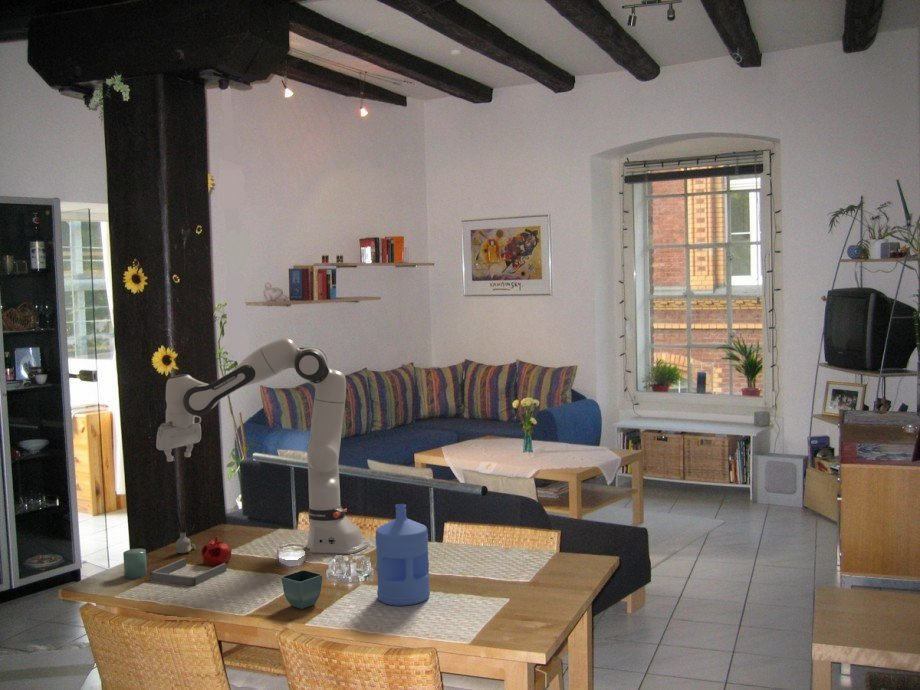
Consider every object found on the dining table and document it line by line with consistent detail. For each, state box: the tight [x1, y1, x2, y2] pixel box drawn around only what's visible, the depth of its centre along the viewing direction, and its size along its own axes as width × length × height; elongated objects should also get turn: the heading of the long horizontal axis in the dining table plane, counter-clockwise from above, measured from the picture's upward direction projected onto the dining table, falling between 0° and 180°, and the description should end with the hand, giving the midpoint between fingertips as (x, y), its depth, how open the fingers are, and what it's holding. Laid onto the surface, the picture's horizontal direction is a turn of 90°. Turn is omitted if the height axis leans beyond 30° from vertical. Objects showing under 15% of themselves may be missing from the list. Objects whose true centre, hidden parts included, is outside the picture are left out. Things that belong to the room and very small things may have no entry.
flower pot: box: [281, 569, 323, 610], centre depth 267 cm, size 9×9×9 cm
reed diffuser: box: [171, 496, 197, 554], centre depth 324 cm, size 10×7×20 cm
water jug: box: [375, 503, 431, 607], centre depth 271 cm, size 16×16×28 cm
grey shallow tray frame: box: [149, 557, 228, 587], centre depth 299 cm, size 18×16×2 cm
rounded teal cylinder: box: [122, 548, 148, 580], centre depth 300 cm, size 7×7×8 cm
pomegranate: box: [201, 535, 232, 567], centre depth 311 cm, size 10×10×9 cm
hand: (179, 459), depth 322 cm, fingers open, 8 cm apart
